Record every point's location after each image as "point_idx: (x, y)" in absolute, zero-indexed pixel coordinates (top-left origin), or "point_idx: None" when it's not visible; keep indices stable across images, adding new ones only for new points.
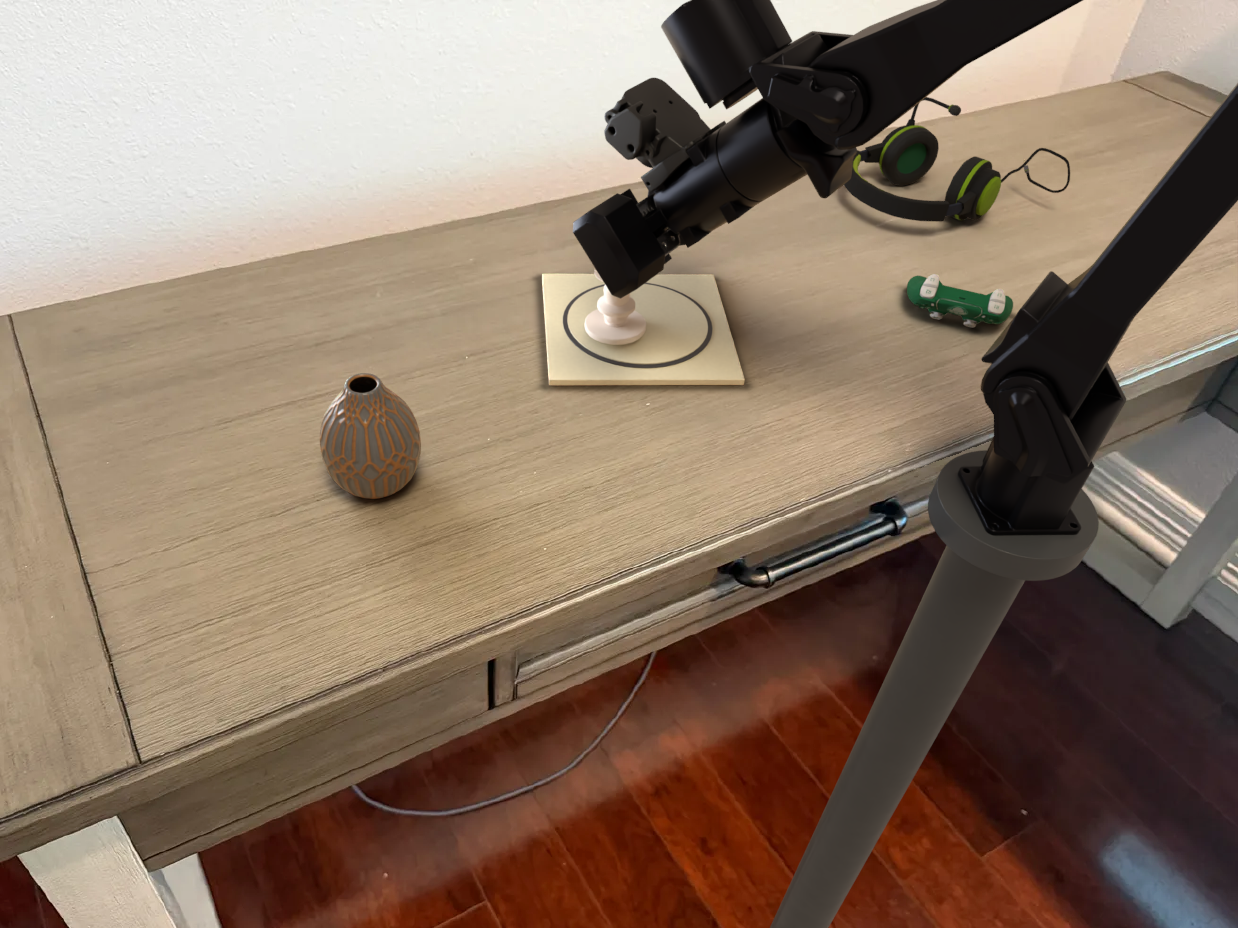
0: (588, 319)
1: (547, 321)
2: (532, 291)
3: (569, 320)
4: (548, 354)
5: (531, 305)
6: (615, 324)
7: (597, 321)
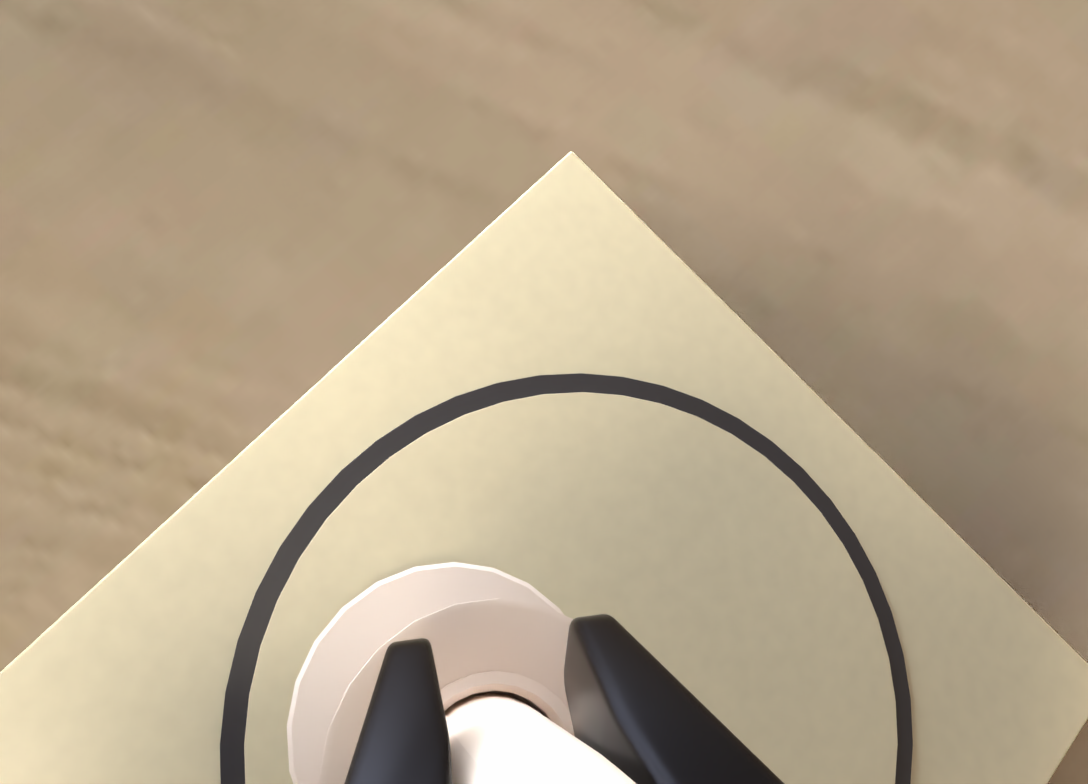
0: (374, 604)
1: (299, 412)
2: (468, 190)
3: (368, 487)
4: (79, 605)
5: (384, 254)
6: None
7: None
